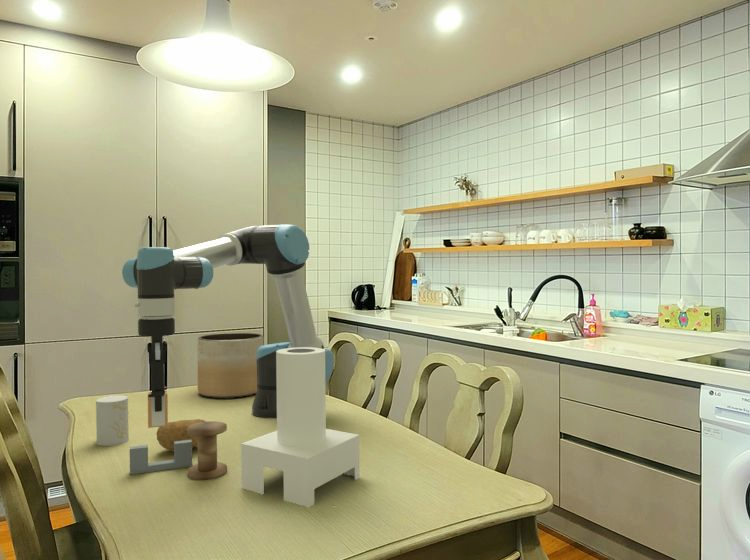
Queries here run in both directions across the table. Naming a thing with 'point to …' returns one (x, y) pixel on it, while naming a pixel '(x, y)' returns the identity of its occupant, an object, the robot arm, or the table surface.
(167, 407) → the orange brown tapered block
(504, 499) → the table surface
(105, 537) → the table surface
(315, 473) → the paper towel holder
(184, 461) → the gray board
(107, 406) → the cup
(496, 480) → the table surface
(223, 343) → the planter
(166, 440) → the potato
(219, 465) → the bobbin
